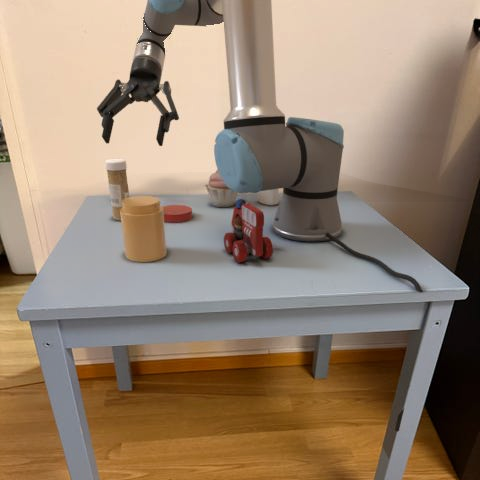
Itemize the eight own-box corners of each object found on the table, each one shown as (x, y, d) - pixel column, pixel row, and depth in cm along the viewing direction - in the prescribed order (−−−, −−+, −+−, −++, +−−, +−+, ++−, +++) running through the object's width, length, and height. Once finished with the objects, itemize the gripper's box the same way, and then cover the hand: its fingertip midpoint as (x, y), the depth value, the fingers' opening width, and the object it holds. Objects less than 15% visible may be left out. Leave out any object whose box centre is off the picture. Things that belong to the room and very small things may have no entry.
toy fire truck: (251, 242, 96) (252, 192, 90) (276, 263, 86) (279, 209, 80) (219, 246, 93) (219, 195, 88) (242, 268, 83) (243, 213, 78)
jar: (175, 253, 90) (171, 200, 84) (143, 265, 84) (137, 209, 79) (148, 243, 94) (143, 192, 89) (117, 254, 89) (109, 201, 83)
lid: (164, 211, 114) (164, 203, 113) (196, 213, 113) (196, 205, 112) (153, 221, 107) (152, 213, 106) (186, 223, 106) (186, 215, 105)
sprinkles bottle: (135, 218, 109) (129, 160, 102) (119, 222, 106) (111, 162, 99) (125, 214, 111) (118, 157, 105) (109, 218, 109) (101, 159, 102)
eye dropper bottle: (272, 199, 124) (274, 153, 118) (279, 205, 119) (281, 158, 113) (257, 200, 123) (258, 154, 117) (263, 206, 118) (264, 158, 112)
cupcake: (213, 211, 114) (212, 170, 109) (200, 201, 122) (199, 163, 117) (246, 207, 118) (247, 167, 113) (232, 198, 125) (232, 160, 120)
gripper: (94, 54, 112) (76, 128, 107) (192, 56, 109) (178, 133, 104) (106, 77, 119) (89, 148, 114) (198, 80, 116) (185, 153, 111)
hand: (132, 141), depth 109 cm, fingers open, 13 cm apart
